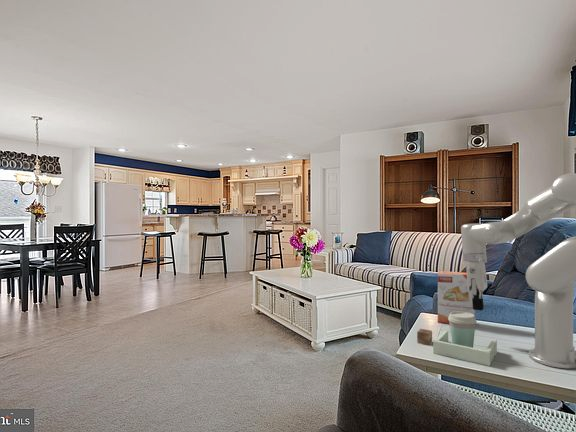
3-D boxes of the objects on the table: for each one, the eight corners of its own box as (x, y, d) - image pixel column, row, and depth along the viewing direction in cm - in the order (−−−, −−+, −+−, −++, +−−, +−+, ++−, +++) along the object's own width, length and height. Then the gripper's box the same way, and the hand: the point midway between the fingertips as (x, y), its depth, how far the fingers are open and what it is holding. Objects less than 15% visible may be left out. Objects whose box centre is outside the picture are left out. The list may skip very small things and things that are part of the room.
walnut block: (432, 341, 127) (432, 330, 127) (429, 345, 123) (429, 333, 123) (420, 339, 129) (420, 328, 129) (417, 343, 126) (417, 331, 126)
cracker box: (437, 322, 148) (437, 272, 147) (437, 318, 153) (437, 270, 153) (475, 327, 142) (475, 274, 142) (474, 322, 148) (474, 272, 147)
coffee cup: (475, 347, 121) (474, 312, 121) (479, 356, 113) (478, 319, 113) (448, 344, 124) (447, 310, 124) (449, 353, 116) (448, 316, 116)
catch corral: (496, 351, 117) (496, 339, 117) (489, 365, 106) (489, 352, 106) (444, 340, 127) (444, 329, 127) (433, 353, 116) (433, 340, 116)
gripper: (482, 260, 119) (486, 315, 119) (489, 256, 131) (493, 306, 130) (458, 259, 124) (462, 313, 123) (467, 256, 136) (471, 304, 135)
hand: (478, 309), depth 127 cm, fingers closed
